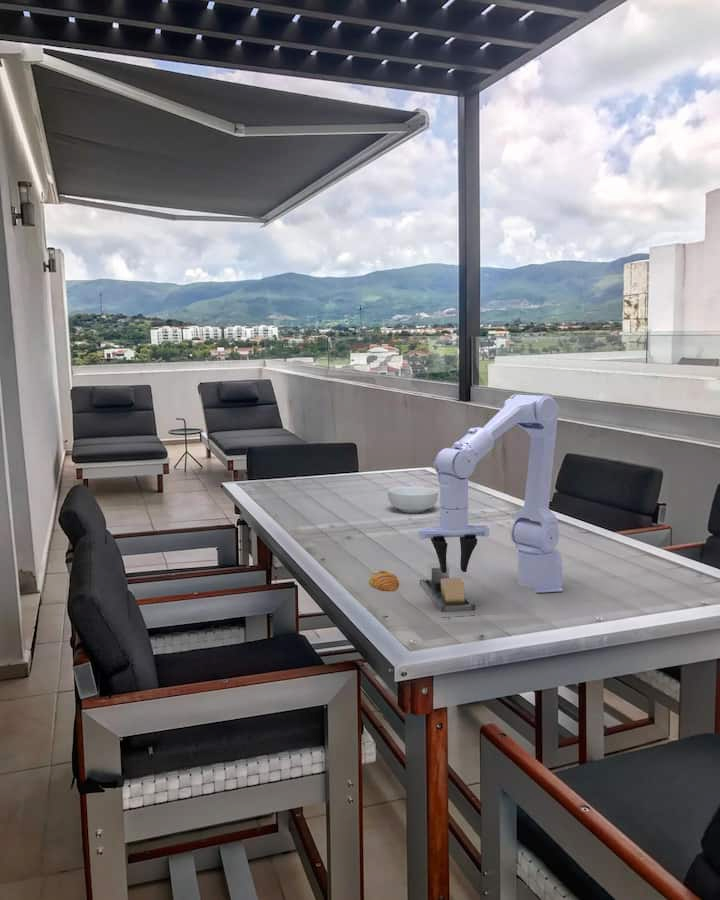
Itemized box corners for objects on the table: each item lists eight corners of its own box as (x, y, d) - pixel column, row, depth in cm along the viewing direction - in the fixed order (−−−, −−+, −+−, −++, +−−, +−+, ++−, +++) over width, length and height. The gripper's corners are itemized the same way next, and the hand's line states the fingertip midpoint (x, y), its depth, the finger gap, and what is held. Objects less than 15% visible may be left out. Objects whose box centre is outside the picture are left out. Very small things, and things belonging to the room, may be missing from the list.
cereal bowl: (422, 517, 263) (422, 496, 262) (378, 512, 272) (378, 491, 271) (446, 508, 277) (446, 488, 276) (404, 504, 286) (404, 484, 285)
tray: (449, 587, 186) (449, 578, 186) (475, 615, 167) (475, 605, 166) (419, 589, 185) (419, 579, 185) (441, 617, 166) (441, 607, 165)
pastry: (404, 596, 181) (404, 579, 180) (375, 599, 180) (374, 582, 179) (394, 584, 190) (394, 568, 190) (366, 586, 189) (365, 570, 188)
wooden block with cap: (458, 598, 174) (457, 575, 173) (464, 605, 169) (463, 581, 168) (440, 600, 174) (439, 577, 173) (446, 607, 168) (444, 583, 168)
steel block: (444, 584, 185) (444, 562, 184) (450, 591, 180) (451, 569, 179) (427, 585, 184) (427, 563, 184) (433, 592, 179) (433, 569, 178)
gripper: (482, 502, 172) (481, 564, 174) (415, 504, 170) (415, 567, 172) (492, 508, 165) (491, 573, 167) (422, 511, 163) (422, 577, 165)
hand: (453, 571), depth 169 cm, fingers open, 4 cm apart
